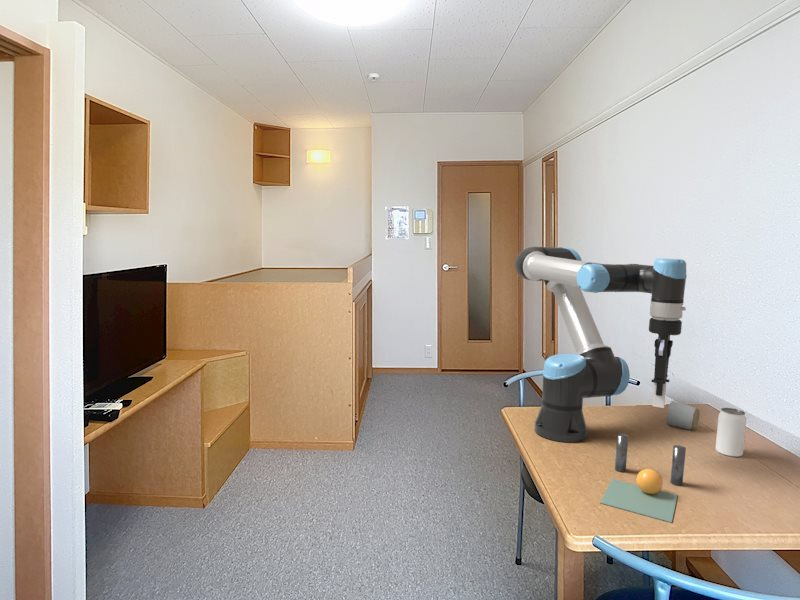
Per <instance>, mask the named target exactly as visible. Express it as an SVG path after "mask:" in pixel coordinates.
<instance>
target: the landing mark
mask: <svg viewBox="0 0 800 600" xmlns="http://www.w3.org/2000/svg"><path fill="white" fill-rule="evenodd" d="M677 498H678V494H675V493H672V492H668V491H663V490H660V491H659V492H658V493H656V494H647V493H645V492H643V491H642V490H641V489H640V488H639V487H638V485H637V483H636V484H635V483H632V482H631V483H630V482H627V481H624V480H623V481H622V480H619V479H616V478H615V479H614V478H611V481H610V483H609V484H608V485H607V489H606V490H605V492H604V494H603V496H602V498H601V499H600V504H602V505H606V506H609V507H612V508H615V509H619V510H623V511H627V512H631V513H634V514H638V515H641V516H644V517H648V518H653V519H656V520H660V521H662V522H666V523H671V524H672V522H673V519H674V513H675V507H676V504H677Z"/></svg>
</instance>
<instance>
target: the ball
mask: <svg viewBox="0 0 800 600" xmlns="http://www.w3.org/2000/svg"><path fill="white" fill-rule="evenodd" d="M636 485H638V487H639V488H640V489H641V490H642V491H643V492H645V493H647V494H656V493H658V492H659V491H662V489H663V486H664V481H663V478H662V476H661V475H660V473H659V472H658V471H656V470H654V469H651V468H645V469H642V470H640V471H639V472H638V473H637V475H636Z"/></svg>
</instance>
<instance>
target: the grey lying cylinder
mask: <svg viewBox="0 0 800 600" xmlns="http://www.w3.org/2000/svg"><path fill="white" fill-rule="evenodd" d="M700 412H701V411H700V409H699V408H697V407H695V406H692V405H688V404H685V403H682V402H678V401H674V400H671V401H670V402H669V404H668V407H667V410H666V417H665V420H666V424H667V425H668V426H671V427H677V428H681V429H685V430H690V431H693V430H697V428H698V425H699V420H700Z"/></svg>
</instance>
